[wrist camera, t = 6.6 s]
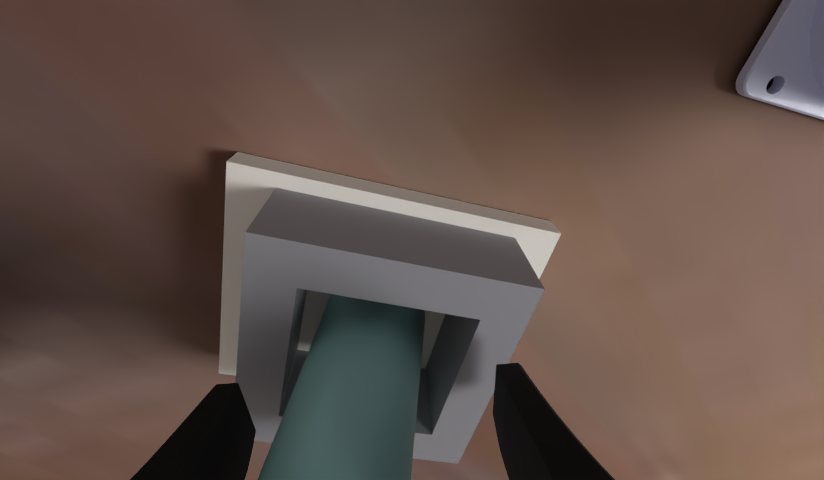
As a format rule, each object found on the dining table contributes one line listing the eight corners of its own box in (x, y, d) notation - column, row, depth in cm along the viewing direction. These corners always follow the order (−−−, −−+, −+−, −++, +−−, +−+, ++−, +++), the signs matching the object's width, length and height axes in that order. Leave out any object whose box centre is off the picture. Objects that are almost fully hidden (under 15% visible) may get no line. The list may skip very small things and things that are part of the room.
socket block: (550, 221, 15) (601, 284, 11) (472, 390, 19) (491, 475, 15) (237, 151, 13) (179, 200, 9) (227, 354, 17) (184, 442, 13)
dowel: (445, 313, 14) (438, 546, 8) (387, 361, 16) (347, 582, 10) (362, 259, 13) (289, 479, 7) (310, 317, 15) (216, 533, 9)
